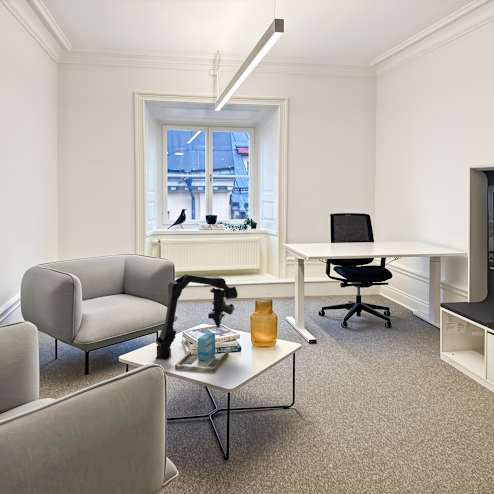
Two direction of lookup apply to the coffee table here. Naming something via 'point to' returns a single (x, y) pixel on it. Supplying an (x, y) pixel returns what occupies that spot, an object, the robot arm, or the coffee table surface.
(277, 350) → the coffee table surface
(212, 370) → the grey tray
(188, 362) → the trap pads
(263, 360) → the coffee table surface
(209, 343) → the data package
